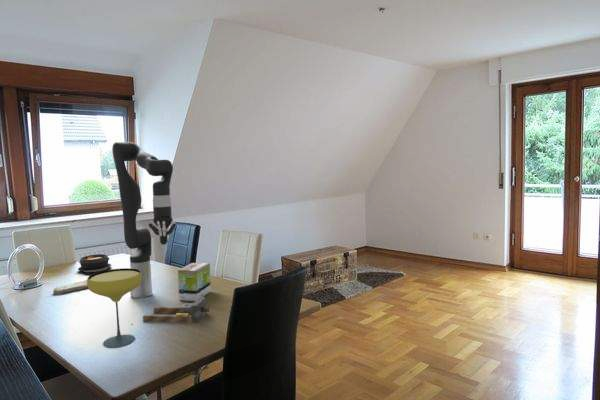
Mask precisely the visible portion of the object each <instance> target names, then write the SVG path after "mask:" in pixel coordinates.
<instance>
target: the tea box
mask: <svg viewBox="0 0 600 400" xmlns="http://www.w3.org/2000/svg"><path fill="white" fill-rule="evenodd" d="M177 271H178V272H177V273H178V274H177V276H178V280H177V281H178V284H177V285H178V299H179V301H189V302H190V301H191V302H192V301H193V302H195V301H196V300H197V299H198V298H199V297H205V296H206V295H208V294H209V293H210V292H211V291H212V290H211V289H212V288H211V265H210V263H207V262H205V263H204V262H191V263H189V264H188V265H185V266H183V267H181V268H180V269H178V270H177Z"/></svg>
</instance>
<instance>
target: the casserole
mask: <svg viewBox="0 0 600 400" xmlns="http://www.w3.org/2000/svg"><path fill="white" fill-rule="evenodd" d="M109 260H110V257H109V256H108V255H107V254H103V253H102V254H99V253H98V254H96V253H95V254H90V255H85V256H82V257H80V260H79V261H78V263H79V264H80V267H78V268H77V270H78V271H80V272H84V273H98V272H101V271H106V270H109V268H110V267H112V264H111V263H109Z"/></svg>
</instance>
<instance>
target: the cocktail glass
mask: <svg viewBox="0 0 600 400" xmlns="http://www.w3.org/2000/svg"><path fill="white" fill-rule="evenodd" d="M86 280H87V286H88V289H87V290H89V291H90V292H92V293H94V294H96V295H99V296H102V297H106V298H108V299H110V300H111V301H112V302H113V303H115V311H116V326H117V327H116V329H117V330H116V335H114V336H111V337H109V338H107V339H105V340H104V341H103V342H102V346H104V347H105V348H109V349H114V348H116V349H117V348H123V347H126V346H128V345H130V344H132V343H133V342H134V341H135V340H136V337H135V336H134V335H133V334H121V330H120V329H121V328H120V319H119V316H120V315H119V306H118V305H119V302H120V301H121V299H122V298H123V297H124V296H125V295H126V294H128V293H130V291H132V290H133V289H135V288H136V287H137V286H138V285H139V284H140V283H141V280H142V275H141V272H140V271H139V270H137V269H131V267H129V268H124V267H123V268H114V269H106V270H104V271H98V272H94V273H93V274H91V275H89V276H88V277H87V279H86Z"/></svg>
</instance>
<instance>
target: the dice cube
mask: <svg viewBox="0 0 600 400" xmlns="http://www.w3.org/2000/svg"><path fill="white" fill-rule="evenodd" d="M193 303H194V302H191V303H187V302H184V303H183V304H182V305H181V306H179V307H180V313H189V315H191V305H192V304H193Z"/></svg>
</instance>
